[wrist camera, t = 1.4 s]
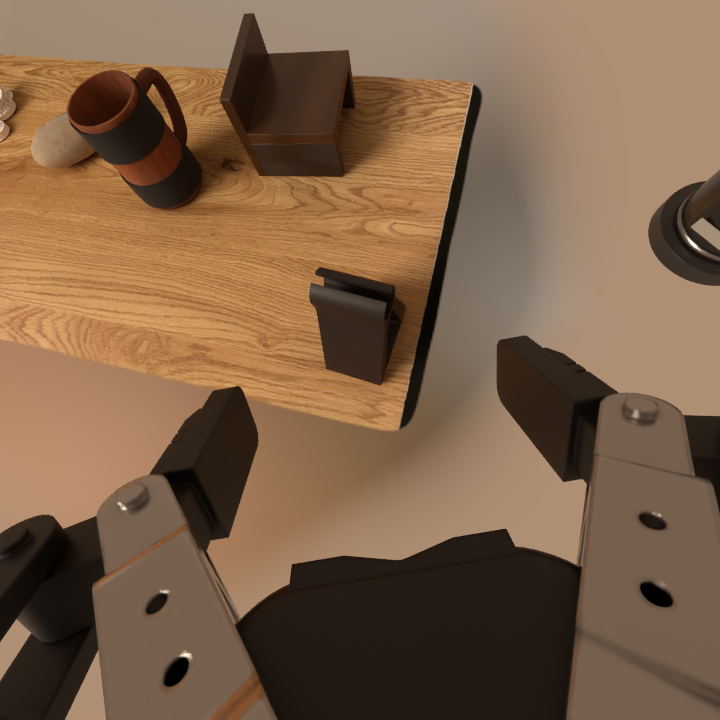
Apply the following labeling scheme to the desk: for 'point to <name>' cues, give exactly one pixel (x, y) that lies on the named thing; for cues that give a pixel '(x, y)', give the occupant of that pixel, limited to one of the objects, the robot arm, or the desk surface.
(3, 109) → the white rounded lumpy shapes
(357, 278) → the phone stand
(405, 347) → the desk surface
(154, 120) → the mug
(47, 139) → the stone
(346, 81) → the shelf
